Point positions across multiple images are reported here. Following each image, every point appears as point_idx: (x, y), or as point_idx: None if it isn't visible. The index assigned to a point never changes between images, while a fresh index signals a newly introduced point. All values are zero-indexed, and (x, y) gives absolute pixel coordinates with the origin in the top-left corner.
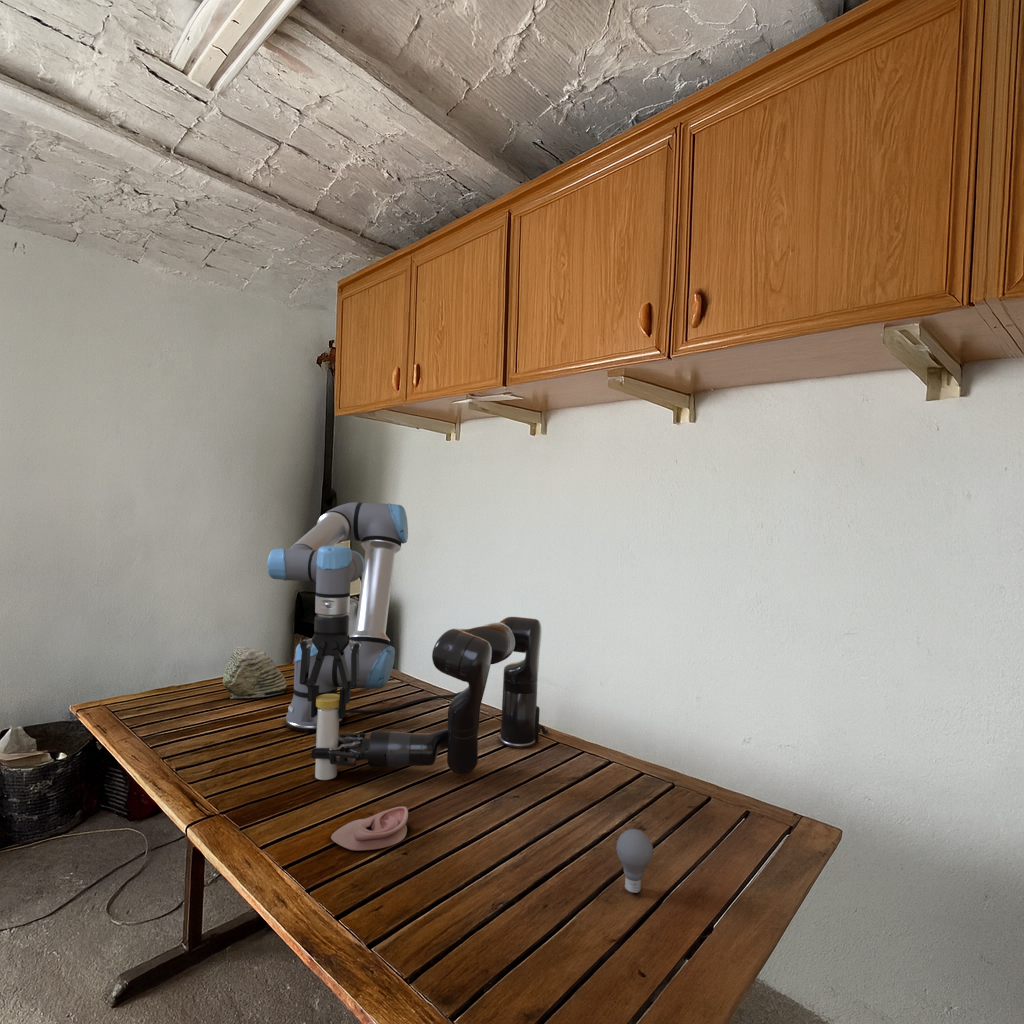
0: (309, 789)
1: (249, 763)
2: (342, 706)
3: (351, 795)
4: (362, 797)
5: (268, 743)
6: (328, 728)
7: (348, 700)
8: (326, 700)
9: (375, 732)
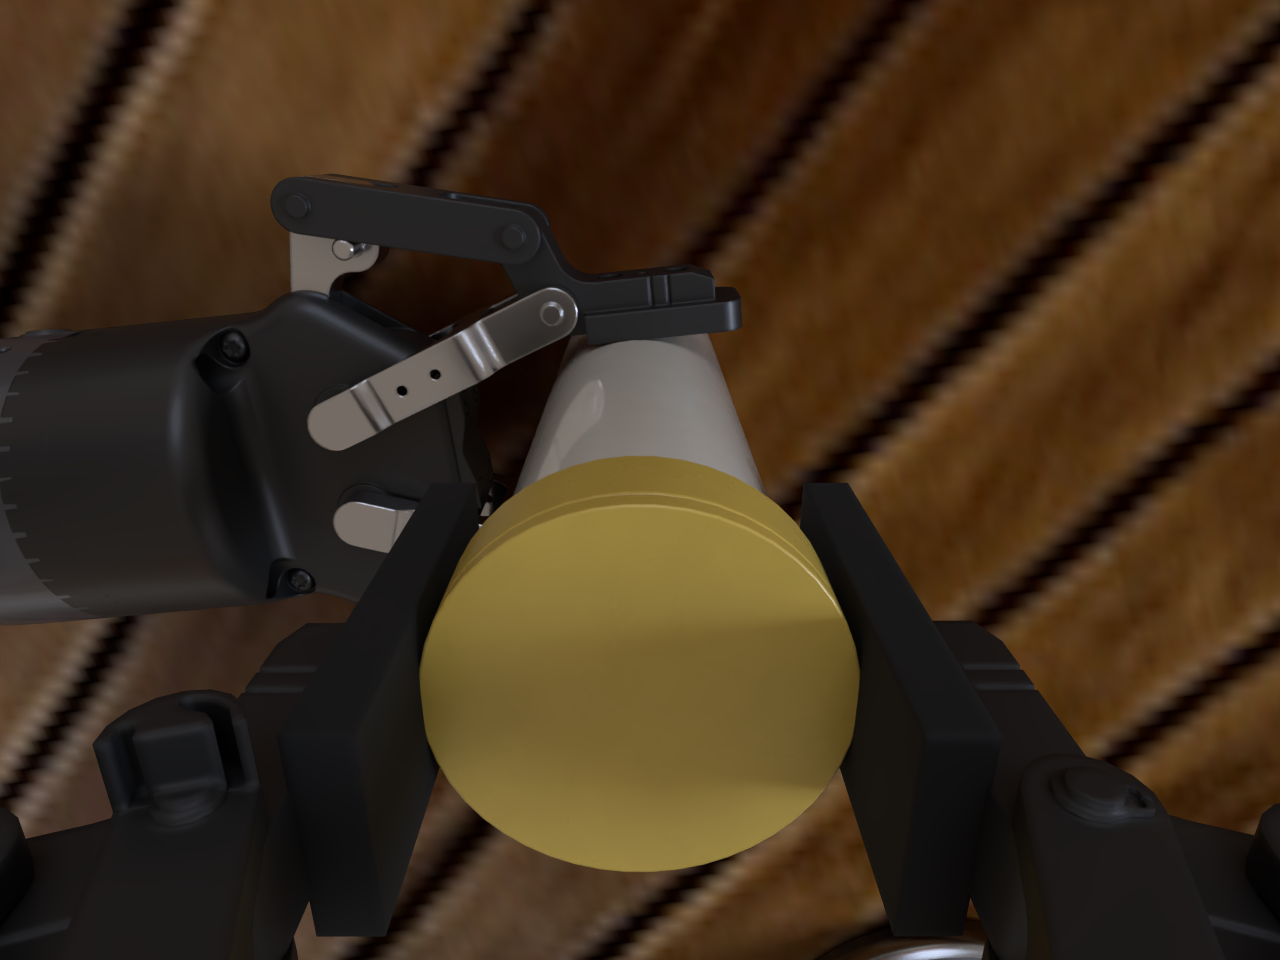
0: (685, 130)
1: (1200, 483)
2: (385, 562)
3: (353, 67)
4: (262, 43)
5: (1136, 764)
6: (595, 398)
7: (276, 651)
8: (630, 556)
9: (160, 528)
